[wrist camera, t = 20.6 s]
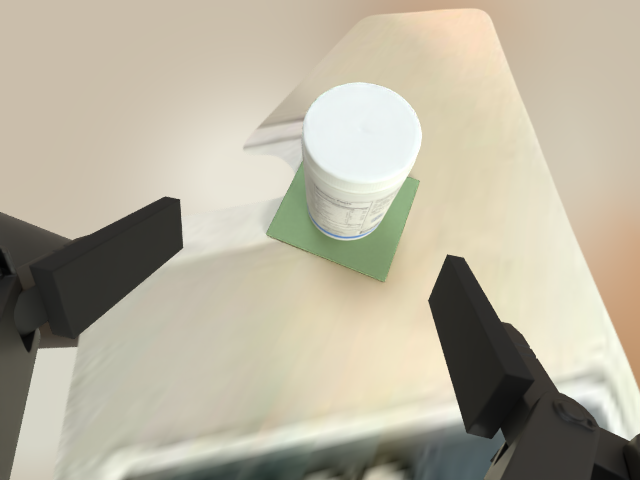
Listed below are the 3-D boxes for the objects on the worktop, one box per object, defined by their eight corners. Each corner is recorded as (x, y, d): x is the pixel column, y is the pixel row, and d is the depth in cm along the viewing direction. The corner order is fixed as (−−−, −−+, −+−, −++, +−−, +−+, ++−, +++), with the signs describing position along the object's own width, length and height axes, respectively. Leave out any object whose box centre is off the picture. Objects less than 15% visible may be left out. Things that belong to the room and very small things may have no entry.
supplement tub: (319, 164, 38) (320, 66, 25) (391, 183, 38) (434, 92, 24) (296, 231, 36) (283, 163, 22) (373, 253, 35) (411, 198, 21)
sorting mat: (266, 234, 36) (265, 233, 36) (311, 144, 40) (311, 142, 40) (384, 282, 34) (384, 281, 34) (418, 182, 38) (419, 180, 38)
